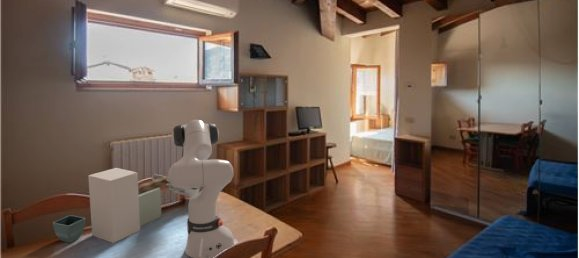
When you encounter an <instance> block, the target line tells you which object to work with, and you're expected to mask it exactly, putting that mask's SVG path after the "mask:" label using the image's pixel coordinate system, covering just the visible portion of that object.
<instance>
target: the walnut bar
mask: <svg viewBox="0 0 579 258" xmlns="http://www.w3.org/2000/svg"><path fill="white" fill-rule="evenodd" d="M163 176H164V177H161V178H159V179H156V180H151V181H147V182H144V183H141V184H138V194H141V193H144V192H147V191H149V190H152V189H155V188H160V187H162V186H165V185H166V184H167V183H169V182H168V181H165V179H166V178H168V175H163Z"/></svg>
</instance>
